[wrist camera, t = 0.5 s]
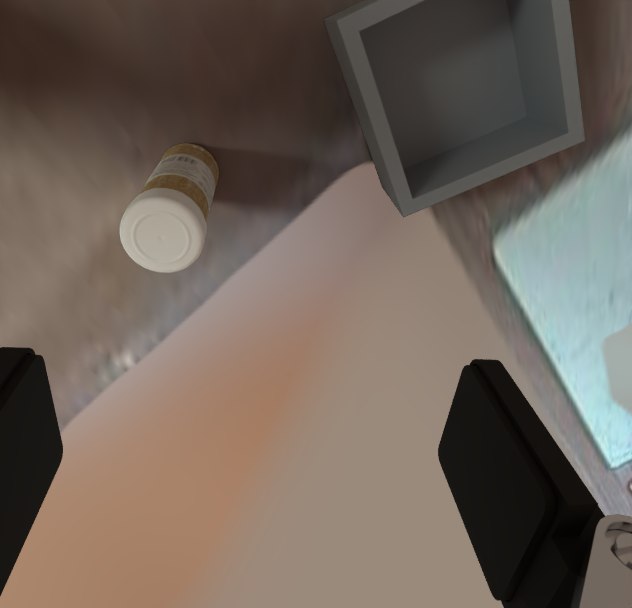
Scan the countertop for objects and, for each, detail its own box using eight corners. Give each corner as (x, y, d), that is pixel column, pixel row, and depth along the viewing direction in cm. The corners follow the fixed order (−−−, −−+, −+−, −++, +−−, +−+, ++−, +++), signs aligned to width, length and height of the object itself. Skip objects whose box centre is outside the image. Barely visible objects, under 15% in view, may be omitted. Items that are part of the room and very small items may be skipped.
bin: (382, 187, 41) (403, 217, 35) (323, 19, 34) (336, 20, 28) (535, 121, 39) (585, 140, 33) (504, -68, 33) (559, -87, 27)
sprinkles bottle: (155, 189, 39) (111, 264, 27) (166, 133, 37) (123, 187, 25) (213, 206, 40) (194, 284, 29) (226, 151, 38) (211, 212, 26)
